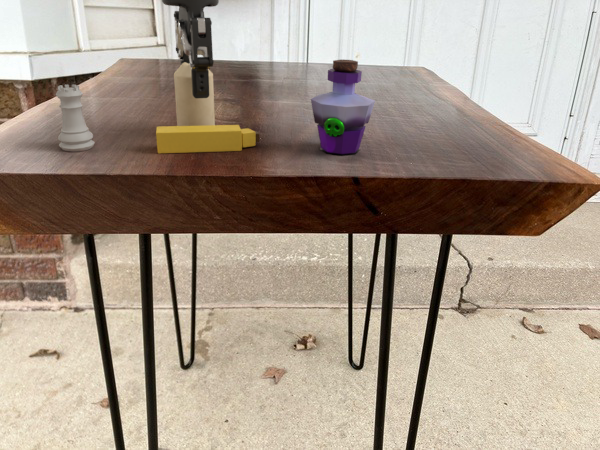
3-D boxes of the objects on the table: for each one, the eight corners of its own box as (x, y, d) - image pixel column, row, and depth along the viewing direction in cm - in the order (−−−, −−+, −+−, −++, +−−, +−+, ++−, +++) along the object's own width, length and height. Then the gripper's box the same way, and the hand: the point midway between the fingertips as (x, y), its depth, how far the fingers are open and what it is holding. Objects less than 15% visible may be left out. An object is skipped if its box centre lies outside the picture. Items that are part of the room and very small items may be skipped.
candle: (219, 129, 81) (217, 61, 77) (208, 138, 76) (205, 66, 72) (185, 126, 82) (181, 59, 78) (171, 135, 77) (166, 64, 73)
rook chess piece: (59, 143, 71) (50, 83, 68) (95, 141, 73) (87, 82, 69) (58, 153, 68) (47, 90, 64) (95, 150, 69) (87, 89, 66)
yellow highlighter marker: (157, 153, 69) (156, 132, 68) (158, 145, 72) (156, 125, 71) (261, 150, 72) (261, 130, 70) (257, 143, 75) (257, 123, 74)
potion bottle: (309, 158, 69) (313, 63, 64) (307, 140, 77) (310, 54, 72) (375, 160, 69) (384, 65, 64) (366, 141, 77) (373, 56, 72)
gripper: (152, -35, 74) (161, 83, 81) (167, -36, 62) (176, 103, 69) (205, -33, 76) (210, 82, 83) (230, -33, 64) (233, 100, 71)
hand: (195, 91), depth 76 cm, fingers open, 8 cm apart
